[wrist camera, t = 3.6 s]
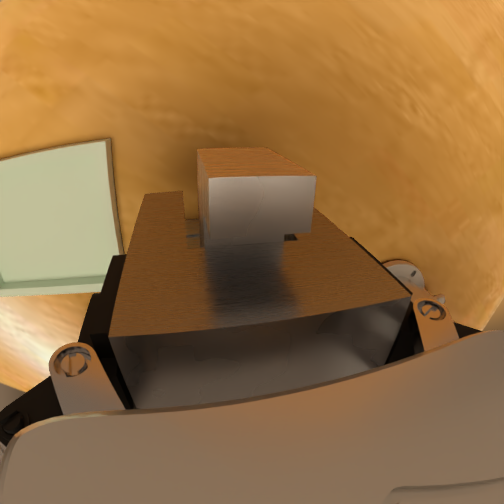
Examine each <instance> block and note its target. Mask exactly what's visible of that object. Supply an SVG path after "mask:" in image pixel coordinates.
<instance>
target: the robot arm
mask: <svg viewBox="0 0 504 504" xmlns="http://www.w3.org/2000/svg"><path fill="white" fill-rule="evenodd" d="M349 238H350V239H351V240H353V241H354V242H355V243H356V244H357V245H358V246H359V247H360V248H362V249H363V250H364V251H365V252H366V253H367V254H368V255H369V256H370V257H371V258H373V259H374V260H375V261H376V262H377V263H378V264H379V265H380V266H381V267H382V268H383V269H384V270H385V271H386V272H388V273H389V274H390V275H391V276H392V277H393V278H394V279H395V280H396V281H397V282H398V283H399V284H400V285H401V286H402V287H403V288H404V289H405V290H406V291H407V292H408V293H409V294H410V295H411V296H412V297H411V300H410V303H409V306H408V308H407V311H406V314H405V316H404V319H403V322H402V324H401V327H400V329H399V332H398V334H397V336H396V339H395V341H394V344H393V346H392V348H391V351H390V353H389V355H388V357H387V360H386V362H385V364H384V365H383V366H380V367H377V368H373V369H370V370H367V371H363V372H360V373H356V374H353V375H349V376H346V377H342V378H338V379H334V380H330V381H326V382H322V383H318V384H314V385H309V386H305V387H300V388H296V389H291V390H286V391H281V392H276V393H271V394H265V395H260V396H254V397H248V398H242V399H235V400H228V401H221V402H213V403H205V404H195V405H185V406H174V407H163V408H149V409H137V408H136V406H135V403H134V401H133V399H132V397H131V394H130V392H129V390H128V387H127V385H126V383H125V380H124V378H123V375H122V373H121V370H120V368H119V365H118V362H117V360H116V357H115V354H114V352H113V349H112V346H111V343H110V341H109V338H108V336H109V330H110V325H111V320H112V315H113V310H114V306H115V301H116V296H117V292H118V288H119V283H120V279H121V275H122V271H123V267H124V263H125V259H126V256H127V254H124V255H113V256H112V259H111V262H110V265H109V268H108V271H107V274H106V277H105V280H104V283H103V286H102V290H101V293H95V294H93V295H92V297H91V300H90V303H89V306H88V309H87V312H86V316H85V319H84V322H83V325H82V329H81V332H80V336H79V339H78V342H77V343H70V344H66V345H64V346H62V347H60V348H59V349H58V350H56V351H55V352H54V353H53V355H52V356H51V358H50V361H49V371H50V375H51V376H49V377H48V378H46V379H45V380H44V381H42V382H41V383H39V384H38V385H36V386H35V387H34V388H32V389H31V390H29V391H28V392H26V393H25V394H24V395H22V396H21V397H19V398H18V399H16V400H15V401H14V402H12V403H11V404H10V405H8V406H6V407H5V408H4V409H3V410H2V411H1V412H0V504H504V331H503V330H491V331H485V332H483V331H480V330H476V329H473V328H470V327H467V326H464V325H461V324H458V323H455V322H454V321H453V320H452V318H451V315H450V313H449V311H448V309H447V308H446V307H445V306H444V305H443V304H444V303H445V297H444V295H443V294H439V295H435V296H432V295H431V294H430V293H429V292H427V291H426V290H425V289H424V288H425V283H424V278H423V275H422V273H421V272H420V270H419V269H418V268H417V267H416V266H414V265H413V264H412V263H410V262H407V261H402V260H396V261H390V262H387V263H384V264H382V263H380V262H379V261H378V260H377V259H376V258H375V257H374V256H373V255H372V254H371V253H370V252H368V251H367V250H366V249H365V248H364V247H363V246H362V245H361V244H359V243H358V242H357V241H356V240H355V239H354V238H352V237H349Z"/></svg>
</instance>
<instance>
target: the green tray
mask: <svg viewBox="0 0 504 504" xmlns="http://www.w3.org/2000/svg"><path fill="white" fill-rule="evenodd" d="M113 255H124V249H123V243H122V237H121V231H120V224H119V217H118V210H117V202H116V193H115V184H114V174H113V163H112V150H111V138H108V139H101V140H94V141H87V142H81V143H75V144H69V145H63V146H58V147H53V148H48V149H43V150H38V151H33V152H29V153H24V154H20V155H16V156H12V157H8V158H4V159H0V297H9V296H32V295H52V294H70V293H87V292H101V290H102V286H103V283H104V280H105V277H106V274H107V271H108V268H109V265H110V262H111V259H112V256H113Z"/></svg>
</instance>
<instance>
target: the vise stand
mask: <svg viewBox="0 0 504 504" xmlns="http://www.w3.org/2000/svg"><path fill="white" fill-rule="evenodd" d="M197 175H198V210H199V219H188V220H185V227H186V238H187V249H192V248H205V247H217V246H230V245H243V244H256V243H270V242H283V241H284V234H295V233H310V232H311V224H312V215H313V206H314V197H315V187H316V175H314V174H312V173H311V172H309V171H307V170H305V169H304V168H302V167H300V166H299V165H297V164H295V163H293V162H292V161H290V160H288V159H286V158H285V157H283V156H281V155H279V154H277V153H276V152H274V151H272V150H270V149H268V148H259V147H252V148H206V149H197Z"/></svg>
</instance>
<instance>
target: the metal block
mask: <svg viewBox="0 0 504 504" xmlns="http://www.w3.org/2000/svg"><path fill="white" fill-rule="evenodd" d="M411 297H412V296H411V295H410V294H409V293H408V292H407V291H406V290H405V289H404V288H403V287H402V286H401V285H400V284H399V283H398V282H397V281H396V280H395V279H394V278H393V277H392V276H391V275H390V274H389V273H388V272H386V271H385V270H384V269H383V268H382V267H381V266H380V265H379V264H378V263H377V262H376V261H375V260H374V259H373V258H371V257H370V256H369V255H368V254H367V253H366V252H365V251H364V250H363V249H362V248H360V247H359V246H358V245H357V244H356V243H355V242H354V241H353V240H351V239H350V238H349V237H348V236H347V235H346V234H345V233H344V232H342V231H341V230H340V229H339V228H338V227H337V226H336V225H334V224H333V223H332V222H331V221H330V220H329V219H327V218H326V217H325V216H324V215H323V214H321V213H320V212H319V211H318V210H317V209H316V208H314V207H313V215H312V224H311V232H310V233H295V234H284V241H283V242H270V243H256V244H243V245H230V246H217V247H205V248H192V249H187V238H186V227H185V215H184V202H183V191H175V192H162V193H150V194H145V195H144V198H143V201H142V204H141V208H140V211H139V214H138V217H137V221H136V224H135V227H134V231H133V234H132V238H131V241H130V245H129V248H128V252H127V256H126V259H125V263H124V267H123V271H122V275H121V279H120V283H119V288H118V292H117V296H116V301H115V306H114V310H113V315H112V320H111V325H110V330H109V336H108V338H109V341H110V343H111V346H112V349H113V352H114V354H115V357H116V360H117V362H118V365H119V368H120V370H121V373H122V375H123V378H124V380H125V383H126V385H127V387H128V390H129V392H130V394H131V397H132V399H133V401H134V403H135V406H136V408H137V409H149V408H163V407H174V406H185V405H195V404H205V403H213V402H221V401H228V400H235V399H242V398H248V397H254V396H260V395H265V394H271V393H276V392H281V391H286V390H291V389H296V388H300V387H305V386H309V385H314V384H318V383H322V382H326V381H330V380H334V379H338V378H342V377H346V376H349V375H353V374H356V373H360V372H363V371H367V370H370V369H373V368H377V367H380V366H383V365H384V364H385V362H386V360H387V357H388V355H389V353H390V351H391V348H392V346H393V344H394V341H395V339H396V336H397V334H398V332H399V329H400V327H401V324H402V322H403V319H404V316H405V314H406V311H407V308H408V306H409V303H410V300H411Z"/></svg>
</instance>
